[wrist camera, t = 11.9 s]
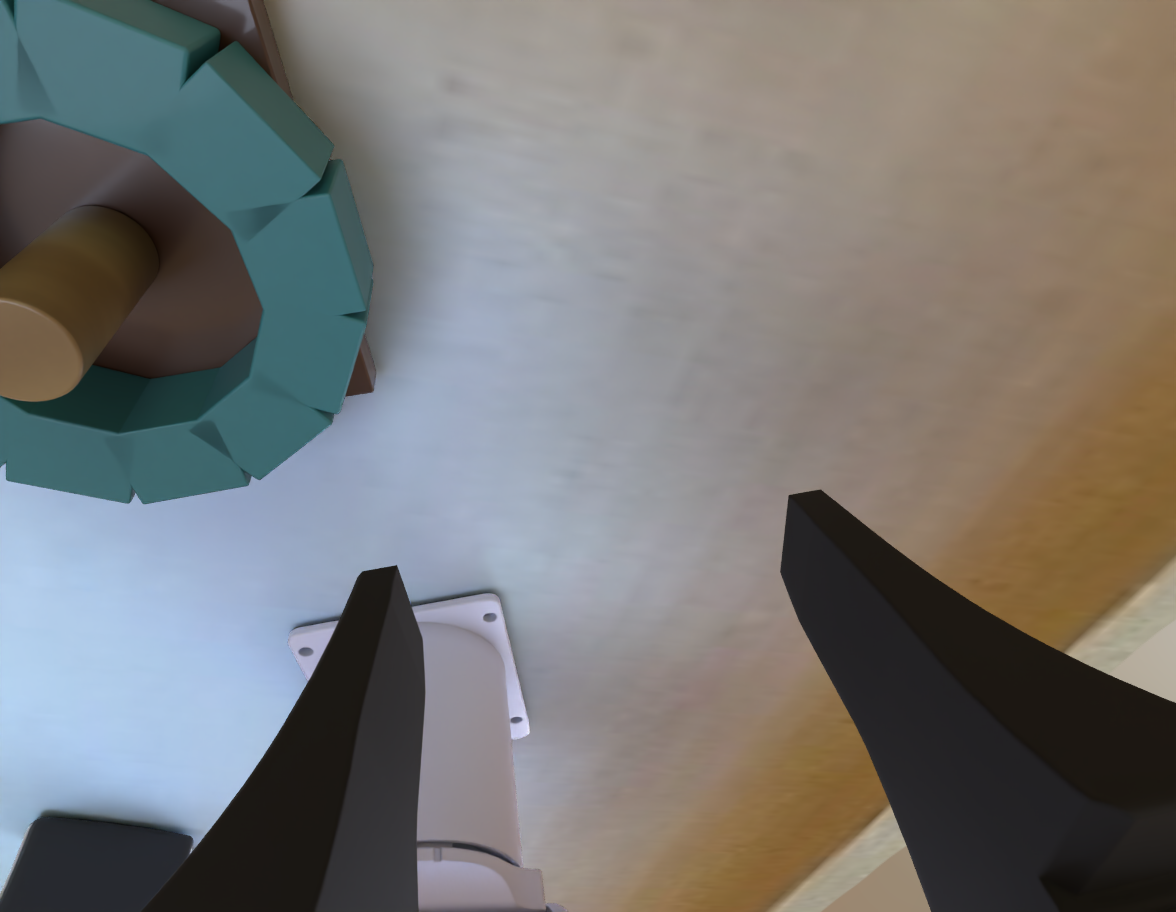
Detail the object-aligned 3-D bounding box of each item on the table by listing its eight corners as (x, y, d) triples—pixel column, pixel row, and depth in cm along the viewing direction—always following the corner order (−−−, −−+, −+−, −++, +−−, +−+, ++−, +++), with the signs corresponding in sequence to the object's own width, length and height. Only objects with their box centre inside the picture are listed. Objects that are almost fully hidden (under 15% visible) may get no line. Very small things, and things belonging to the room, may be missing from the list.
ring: (414, 404, 21) (412, 457, 19) (16, 472, 21) (-30, 535, 19) (277, -65, 14) (251, -59, 12) (-330, 12, 14) (-463, 32, 12)
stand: (376, 371, 22) (360, 507, 17) (28, 427, 21) (-95, 585, 16) (255, -27, 16) (175, 6, 11) (-245, 30, 15) (-572, 93, 10)
